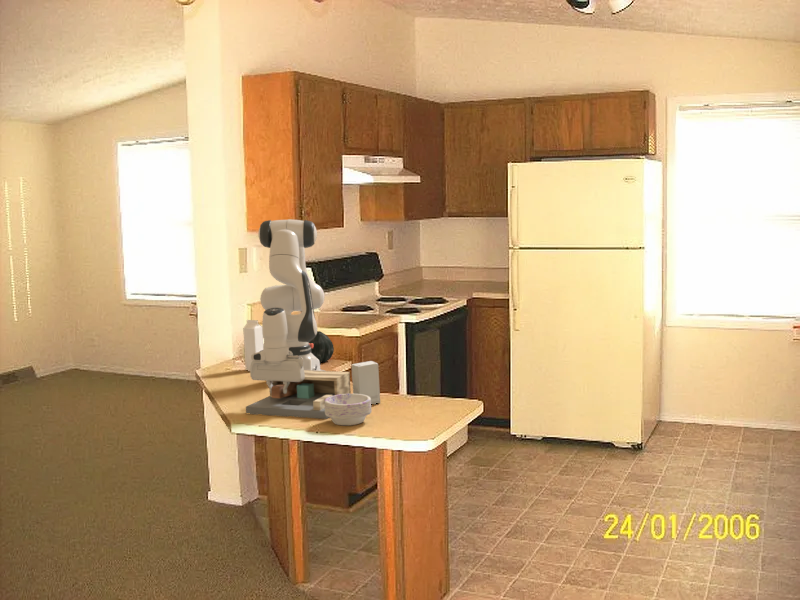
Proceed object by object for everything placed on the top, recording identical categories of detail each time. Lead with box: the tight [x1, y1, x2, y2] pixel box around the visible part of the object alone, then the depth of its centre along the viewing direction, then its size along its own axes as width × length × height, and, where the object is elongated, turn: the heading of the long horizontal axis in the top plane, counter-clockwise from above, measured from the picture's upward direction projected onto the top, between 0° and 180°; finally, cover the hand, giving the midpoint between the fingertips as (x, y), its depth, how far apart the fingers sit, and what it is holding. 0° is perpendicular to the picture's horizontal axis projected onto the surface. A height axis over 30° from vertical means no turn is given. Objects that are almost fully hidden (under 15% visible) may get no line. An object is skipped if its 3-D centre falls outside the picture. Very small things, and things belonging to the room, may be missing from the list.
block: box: [297, 383, 314, 399], centre depth 309 cm, size 4×4×4 cm
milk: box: [242, 319, 264, 372], centre depth 375 cm, size 6×6×22 cm
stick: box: [313, 395, 333, 410], centre depth 293 cm, size 10×2×3 cm, turn 159°
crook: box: [272, 382, 312, 398], centre depth 308 cm, size 16×8×4 cm, turn 160°
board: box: [245, 393, 335, 420], centre depth 304 cm, size 26×31×2 cm
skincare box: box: [351, 360, 381, 405], centre depth 304 cm, size 8×6×15 cm
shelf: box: [269, 370, 352, 397], centre depth 311 cm, size 11×27×8 cm, turn 69°
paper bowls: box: [324, 393, 372, 426], centre depth 281 cm, size 15×15×8 cm
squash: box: [309, 330, 335, 363], centre depth 389 cm, size 14×15×15 cm
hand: (278, 393), depth 303 cm, fingers closed on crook, 3 cm apart
